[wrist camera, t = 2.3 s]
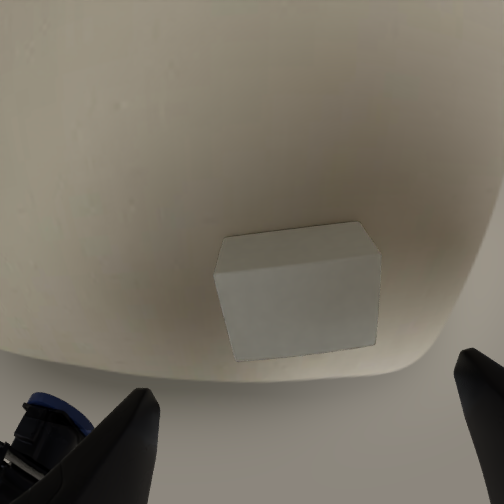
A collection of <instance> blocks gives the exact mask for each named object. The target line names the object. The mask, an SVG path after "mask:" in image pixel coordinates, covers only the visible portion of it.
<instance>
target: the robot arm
mask: <svg viewBox="0 0 504 504" xmlns="http://www.w3.org/2000/svg"><path fill="white" fill-rule="evenodd" d="M454 378H455V382H456V385H457V389H458V393H459V396H460V400H461V404H462V408H463V412H464V416H465V420H466V422H467V426H468V428H469V431H470V434H471V437H472V440H473V443H474V446H475V449H476V453H477V456H478V459H479V462H480V465H481V469H482V472H483V476H484V479H485V483H486V487H487V490H488V494H489V499H490V503H491V504H504V367H502V366H501V365H499V364H498V363H496V362H495V361H493V360H491V359H490V358H489V357H487V356H486V355H484V354H483V353H481V352H479V351H478V350H476V349H475V348H469V349H465V350H462V351H461V352H460V354H459V357H458V360H457V363H456V366H455V369H454ZM22 407H23V408H24V409H25V410H26V413H25V414H24V416H23V418H22V420H21V422H20V423H19V425H18V427H17V429H16V431H15V433H14V436H15V439H14V441H13V443H12V445H11V446H10V444H9V443H7V442H5V443H3V442H1V441H0V504H147V502H148V496H149V491H150V486H151V481H152V475H153V470H154V465H155V460H156V453H157V442H158V430H159V419H160V407H159V404H158V402H157V400H156V399H155V397H154V395H153V393H152V392H151V390H150V389H148V388H136V389H135V390H133V391H132V392H131V393H130V394H129V395H128V396H127V397H126V398H125V399H124V400H123V401H122V402H121V403H120V404H119V405H118V406H117V407H116V408H115V409H114V410H113V411H112V412H111V413H110V414H109V415H108V416H107V417H106V418H105V419H104V420H103V421H102V422H101V423H100V424H99V425H98V426H97V427H96V428H95V429H94V430H92V431H91V432H90V433H89V434H88V435H87V436H85V435H84V433H83V432H82V431H81V430H80V429H79V428H78V426H77V425H76V424H75V423H74V422H73V420H72V419H71V418H70V417H69V415H68V414H67V413H66V412H65V411H63V410H59V409H53V408H48V407H43V406H38V405H34V404H29V403H25V402H24V403H23V405H22ZM4 458H5V459H7V460H8V461H10V462H9V464H8V463H6V462H5V461H4Z"/></svg>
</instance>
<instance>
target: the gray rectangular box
mask: <svg viewBox="0 0 504 504" xmlns="http://www.w3.org/2000/svg"><path fill="white" fill-rule="evenodd" d="M381 260H382V255H381V253H380V251H379V250H378V248H377V247H376V245H375V244H374V242H373V241H372V239H371V238H370V236H369V235H368V233H367V232H366V231H365V229H364V228H363V226H362V225H361V223H360V222H359V221H356V222H347V223H338V224H330V225H321V226H313V227H305V228H297V229H288V230H280V231H272V232H264V233H256V234H248V235H241V236H233V237H225V238H224V239H223V243H222V246H221V250H220V253H219V257H218V260H217V264H216V267H215V271H214V274H213V277H214V281H215V285H216V289H217V293H218V297H219V301H220V305H221V309H222V313H223V317H224V321H225V324H226V328H227V332H228V336H229V340H230V344H231V347H232V351H233V355H234V358H235V361H237V362H239V361H253V360H265V359H275V358H285V357H295V356H303V355H312V354H320V353H327V352H334V351H341V350H348V349H354V348H361V347H367V346H373V345H375V343H376V335H377V324H378V313H379V299H380V283H381Z"/></svg>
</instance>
